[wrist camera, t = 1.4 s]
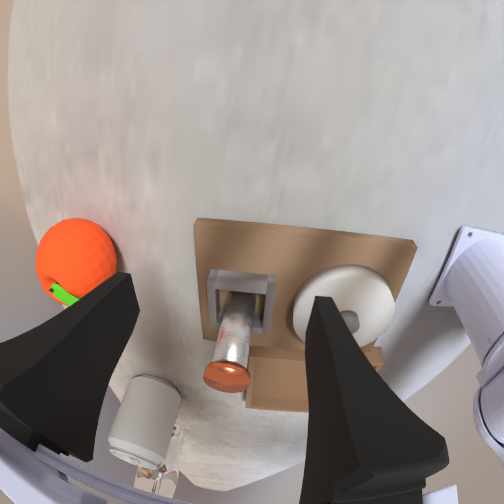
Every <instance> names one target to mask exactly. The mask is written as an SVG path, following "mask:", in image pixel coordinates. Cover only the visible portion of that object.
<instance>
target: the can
mask: <svg viewBox="0 0 504 504" xmlns="http://www.w3.org/2000/svg"><path fill="white" fill-rule="evenodd" d="M180 403H181V397H180V395H179V393H178V392H177V390H176V388H175V387H174V386H173V385H171V384H170V383H168V382H167V381H165V380H163V379H160V378H158V377H154V376H150V375H141V376H139V377H135V378H132V379H131V381H130V383H129V385H128V388H127V390H126V393H125V395H124V398H123V400H122V403H121V405H120V408H119V410H118V413H117V415H116V418H115V421H114V423H113V426H112V428H111V431H110V434H109V437H108V441H109V443H110V445H111V449H109V451H110V452H111V453H112V454H113V455H115V456H117V457H118V458H120V459H122V460H124V461H127V462H129V463H132V464H134V465H137V466H140V467H144V468H148V469H154V470H155V469H158V468H157V465H158V464H160V463H162V462H164V461H165V458H166V455H167V451H168V447H169V443H170V440H171V436H172V432H173V429H174V425H175V421H176V418H177V414H178V410H179V407H180Z"/></svg>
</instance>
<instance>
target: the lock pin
mask: <svg viewBox="0 0 504 504" xmlns="http://www.w3.org/2000/svg"><path fill="white" fill-rule="evenodd" d="M255 305H256V294H255V293H247V292H238V291H229V294H228V298H227V302H226V306H225V310H224V314H223V318H222V322H221V326H220V330H219V335H218V339H217V343H216V347H215V351H214V355H213V359H212V362H211V363H209V364H208V365H207V366H206V367H205V371H204V375H203V379H204V381H205V383H206V384H207V385H209V386H210V387H212V388H214V389H216V390H219V391H222V392H228V393H237V392H242V391H244V390H246V389H247V388H248V387H249V385H250V377H251V375H250V372H249V371H248V370H247V363H248V356H249V349H250V342H251V334H252V327H253V320H254V313H255Z"/></svg>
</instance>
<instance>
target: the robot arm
mask: <svg viewBox="0 0 504 504" xmlns="http://www.w3.org/2000/svg"><path fill="white" fill-rule="evenodd" d="M469 232H470V234H469V235H468V233H469ZM437 301H438V302H437ZM429 304H430V305H431V306H446V307H454V309H455V310H456V312H457V314H458V316H459V318H460V320H461V322H462V324H463V326H464V328H465V330H466V332H467V335H468V337H469V339H470V341H471V343H472V345H473V347H474V350H475V352H476V354H477V357H478V359H479V361H480V364H481V366H482V369H481V370H480V372H479V373H478V374H477V379H478V382H479V384H480V386H479V388H478V389H477V391H476V392H475V395H474V399H473V417H474V422H475V426H476V429H477V431H478V433H479V435H480V437H481V438H482V439H483V441H484V442H485V443H486V444H487V445H489V446H490V447H491V448H492V449H493V450H494V451H495V453H496V454H497V455H498V457H499V459H500V461H501V464H502V466H503V469H504V235H503V234H498V233H494V232H489V231H485V230H480V229H476V228H471V227H466V226H465V227H462V228H461V229H460V231H459V234H458V236H457V239H456V241H455V244H454V246H453V249H452V251H451V254H450V256H449V259H448V261H447V263H446V265H445V268H444V270H443V272H442V274H441V277H440V279H439V281H438V283H437V285H436V287H435V289H434V291H433V293H432V295H431V297H430V299H429ZM139 312H140V309H139V305H138V301H137V298H136V294H135V290H134V286H133V282H132V278H131V274H129V273H122V272H117V273H115V274H114V275H112V276H111V277H109V278H108V279H107V280H105V281H104V282H102V283H101V284H100V285H98V286H97V287H96V288H94V289H93V290H91V291H90V292H89V293H87V294H86V295H85V296H83V297H82V298H81V299H79V300H78V301H76V302H75V303H73V304H72V305H71V306H69V307H68V308H66V309H65V310H63V311H62V312H61V313H59V314H58V315H56V316H54V317H53V318H51V319H50V320H48V321H46V322H44V323H43V324H41V325H40V326H37V327H36V328H34V329H31V330H30V331H27V332H25V333H23V334H21V335H19V336H17V337H15V338H12V339H10V340H7V341H5V342H2V343H0V489H1V490H2V491H3V492H4V493H5V494H6V495H7V496H8V497H9V498H10V499H11V500H12V501H13V502H14V503H15V504H107V500H106V499H104V498H101V497H99V496H97V495H95V494H93V493H91V492H88V491H86V490H84V489H82V488H80V487H77V486H75V485H73V484H71V483H69V481H68V479H67V476H66V475H68V476H70V477H71V478H73V479H75V480H77V481H79V482H81V483H84V484H85V485H88V486H90V487H92V488H94V489H97V490H99V491H101V492H103V493H106V494H108V495H111V496H113V497H116V498H118V499H121V500H124V501H126V502H129V503H132V504H194V503H189V502H184V501H180V500H176V499H172V498H168V497H164V496H160V495H157V494H153V493H150V492H147V491H144V490H140V489H137V488H134V487H131V486H129V485H126V484H123V483H120V482H118V481H115V480H112V479H110V478H107V477H105V476H103V475H100V474H98V473H95V472H93V471H91V470H89V469H87V468H84V467H82V466H80V465H78V464H76V463H74V462H72V461H70V460H68V459H66V458H64V457H62V456H60V452H61V453H63V454H64V455H66V456H69V454H70V455H72V456H74V457H76V458H78V459H80V460H82V461H84V462H89V461H91V460H92V459H93V451H94V443H95V436H96V430H97V425H98V419H99V415H100V411H101V407H102V404H103V400H104V396H105V393H106V390H107V387H108V384H109V381H110V378H111V376H112V373H113V371H114V369H115V367H116V365H117V363H118V361H119V359H120V357H121V355H122V353H123V351H124V349H125V347H126V344H127V342H128V340H129V338H130V336H131V334H132V332H133V329H134V327H135V324H136V321H137V318H138V315H139ZM305 365H306V377H307V390H308V404H309V420H308V437H307V449H306V460H305V468H304V477H303V483H302V490H301V496H300V502H299V504H458V495H457V487H456V485H451V486H448V487H445V488H442V489H439V490H436V491H432V492H429V493H427V494H423V495H422V488H425V486H426V481H425V478H427V477H429V476H431V475H433V474H435V473H437V472H438V471H440V470H442V469H444V468H445V467H446V466H447V465H448V464H449V456H448V450H447V445H446V441H445V438H444V437H443V436H441V435H440V434H439V433H438V432H436V431H435V430H434V429H432V428H431V427H430V426H429V425H427V424H426V423H425V422H424V421H422V420H421V419H420V418H419V417H418V416H417V415H416V414H414V413H413V412H412V411H411V410H410V409H409V408H408V407H407V406H406V405H405V404H404V403H403V402H402V400H401V399H400V398H399V397H398V396H397V395H396V394H395V393H394V392H393V391H392V390H391V389H390V387H389V386H388V385H387V384H386V383H385V382H384V380H383V379H382V378H381V376H380V375H379V374H378V373H377V371H376V370H375V369H374V367H373V366H372V364H371V363H370V362H369V360H368V359H367V357H366V356H365V354H364V353H363V351H362V350H361V348H360V346H359V345H358V343H357V342H356V340H355V338H354V337H353V335H352V333H351V332H350V330H349V328H348V326H347V325H346V323H345V321H344V319H343V317H342V315H341V313H340V312H339V310H338V308H337V306H336V304H335V302H334V300H333V298H332V297H326V296H315V299H314V303H313V307H312V310H311V314H310V318H309V321H308V325H307V329H306V333H305ZM65 474H66V475H65Z"/></svg>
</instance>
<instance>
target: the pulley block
mask: <svg viewBox="0 0 504 504" xmlns="http://www.w3.org/2000/svg"><path fill="white" fill-rule="evenodd" d="M194 234H195V250H196V264H197V276H198V288H199V299H200V310H201V320H202V329H203V338H204V339H205V340H212V341H217V339H218V335H219V330H220V326H221V322H222V318H223V314H224V310H225V306H226V302H227V298H228V294H229V291H238V292H247V293H255V294H256V305H255V313H254V320H253V327H252V334H251V342H250V345H253V346H262V347H273V348H285V349H298V350H305V333H306V329H307V325H308V321H309V318H310V314H311V310H312V307H313V303H314V299H315V296H326V297H332V298H333V300H334V302H335V304H336V306H337V308H338V310H339V312H340V313H341V315H342V317H343V319H344V321H345V323H346V325H347V326H348V328H349V330H350V332H351V333H352V335H353V337H354V338H355V340H356V342H357V343H358V345H359V346H360V348H361V350H362V351H363V352H370V351H371V350H372V348H373V346H374V344H375V342H376V340H377V338H378V337H379V336H381V335H382V334H383V333H384V332H385V331H386V329H387V328H388V327H389V325H390V324H391V322H392V320H393V317H394V313H395V301H396V299H397V297H398V294H399V292H400V290H401V287H402V285H403V283H404V280H405V278H406V276H407V273H408V271H409V268H410V266H411V263H412V260H413V258H414V255H415V253H416V250H417V246H416V244H415V243H414V241H413V240H407V239H400V238H392V237H384V236H376V235H368V234H360V233H351V232H343V231H334V230H325V229H315V228H306V227H296V226H286V225H276V224H266V223H255V222H243V221H232V220H220V219H207V218H197V220H196V222H195V223H194Z"/></svg>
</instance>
